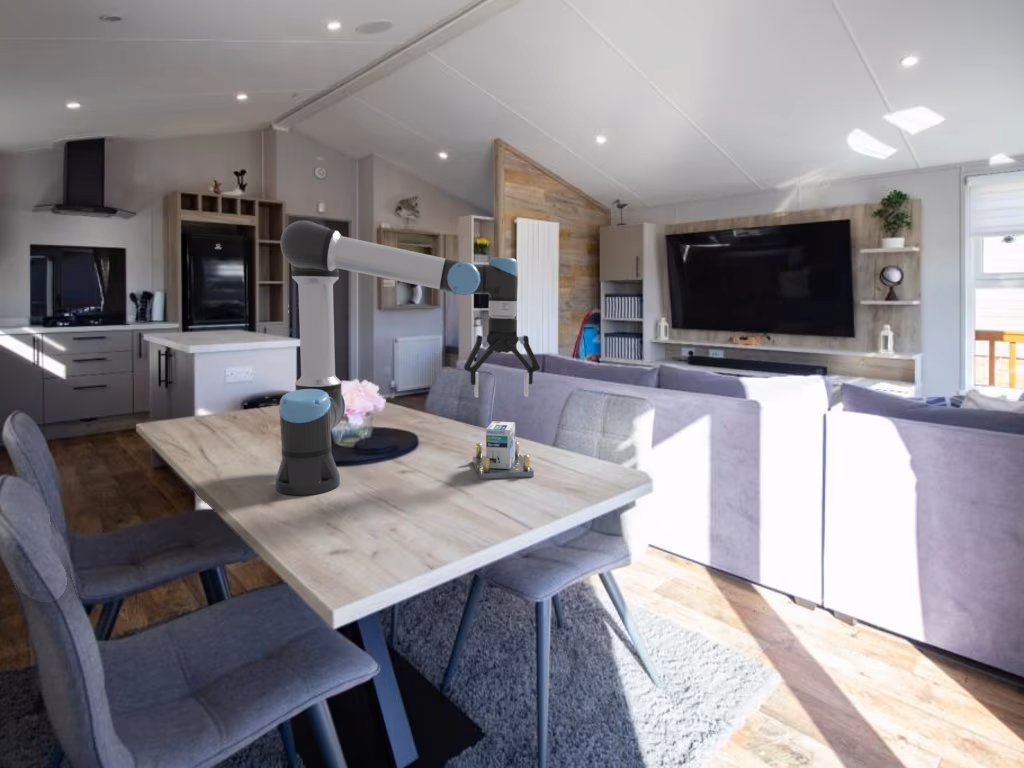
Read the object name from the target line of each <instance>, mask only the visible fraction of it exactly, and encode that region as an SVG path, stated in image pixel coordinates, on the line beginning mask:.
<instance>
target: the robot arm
mask: <svg viewBox="0 0 1024 768" xmlns="http://www.w3.org/2000/svg"><path fill="white" fill-rule="evenodd" d="M279 243H280V245H279V247H280V251H281V253H282V255H283V257H284V259H285V260H286V261H287V262H288V263H289V264H290V266H291V278H292V279H293V280H294V281H295V282H296V283H297V285H298V290H297V291H298V311H299V312H298V313H299V314H298V315H299V317H298V318H299V345H300V346H299V347H300V370H301V371H300V373H301V374H300V377H299V378H298V379H297V381H295V390H294V391H289V392H287V393H285V394H283V395H282V397H281V398H280V401H279V407H278V413H279V421H280V439H281V441H280V442H281V460H280V464H279V468H278V470H277V471H278V472H277V474H276V477H275V490H276V491H277V492H278V493H281V494H284V495H292V496H293V495H294V496H305V495H306V496H308V495H317V494H321V493H326V492H329V491H331V490H334V489H336V488H338V487H339V486H340V484H341V481H340V480H341V479H340V477H341V476H340V472H339V470H338V467H337V464H336V462H335V460H334V457H333V453H332V430H333V429H334V428H335V427H337V426H338V425H339V423H340V422H342V419H343V418H344V414H345V411H346V401H345V398H344V396H343V394H342V381H341V380H340V379H339V378H338V377H337V376H336V359H335V358H336V357H335V321H334V319H335V316H334V315H335V314H334V284H335V283H336V282H337V281H339V279H340V278H339V276H340V275H339V269H340V270H345V271H349V272H354V273H358V274H359V273H360V274H364V275H369V276H373V277H378V278H384V279H388V280H393V281H397V282H403V283H407V284H412V285H416V286H417V285H418V286H422V287H427V288H431V289H436V290H441V291H443V292H444V293H445V294H452V295H460V296H461V295H462V296H468V295H469V296H470V295H488V316H489V318H488V321H487V322H488V324H487V325H488V326H487V327H488V329H487V330H488V332H487V336H485V335H484V336H482V335H481V334H477V335H476V337H475V343H474V346H473V348H472V350H471V351H470V353H469V355H468V357H467V360H466V361H465V364H464V365H463V369H464V370H465V371H467V372H469V373H470V374H469V375H470V378H469V379H470V385H471V386H473V385H474V389H473V391H474V393H473V394H474V395H473V397H474V398H479V382H480V381H479V379H480V377H479V372H478V370H479V369H480V368H481V367H482V365H483V364H485V361H486V360H487V359H488V358H489V357H490V356H491V355H492V354H493V353H494V352H495V353H499V354H500V353H507V354H509V353H510V352H511V353H512V354H513V355H514V356H515V357H516V359H517V360H518V361H519V362H520V363H521V364H522V366H523V367H524V369H526V371H524V372H523V374H524V375H523V396H524V397H525V398H529V394H530V393H529V392H530V391H529V388H530V385H532V384H533V379H534V378H533V375H534V374H533V373H534V372H535V371H539V370H540V365H539V362H538V360H537V358H536V356H535V354H534V352H533V349H532V348H531V346H530V342H529V341H530V340H529V336H528V335H525V334H524V335H522V336H518V334H517V331H518V330H517V329H518V328H517V327H518V320H517V318H516V317H517V316H518V290H519V289H518V284H519V275H518V267H519V265H518V261H517V260H516V259H515V258H513V257H491V258H489V261H488V264H485V265H481V264H479V265H478V264H473V263H470V262H467V261H458V260H453V259H448V258H445V257H440V256H435V255H431V254H427V253H426V254H425V253H421V252H417V251H412V250H409V249H403V248H398V247H394V246H389V245H385V244H384V245H383V244H380V243H375V242H370V241H365V240H363V239H362V240H361V239H356V238H352V237H347V236H343V235H341V233H340V232H339V231H338V230H335V229H330V228H329V227H327V226H325V225H323V224H319V223H315V222H313V221H309V220H297V221H295V222H292V223H291V224H288V226H287V227H285V229H284V230H283V232H282V234H281V236H280V240H279ZM485 342H487V344H488V345H489V346H488V347H487V348H486V349H485V351H484V352H483V353H482V354H481V356H479V358H478V359H477V361H475V363H474V364H473V362H474V360H475V358H476V356H477V355H478V352H479V351H480V348H481V346H482V345H484V343H485ZM518 342H519V343H520V344H521V345H522V346H523V349H524V350H525V353H526V355H527V357H528V359H529V361H530V363H531V365H532V366H531V365H530V363H529V362H528V361H527V360H526V359H525V357H523V355H522V354H521V353H520V352H519V350H518V349H517V347H516V345H517V344H518ZM472 364H473V365H472Z"/></svg>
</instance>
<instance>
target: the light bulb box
mask: <svg viewBox="0 0 1024 768" xmlns="http://www.w3.org/2000/svg"><path fill="white" fill-rule="evenodd" d="M485 436H486V437H485V456H486V457H490V468H499V469H510V468H511V466H512V464H513V462H514V460H515V442H516V422H515V421H495V420H494V421H491V422H490V424H489V425H488V426H487V427H486V429H485Z"/></svg>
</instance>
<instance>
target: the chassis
mask: <svg viewBox="0 0 1024 768" xmlns="http://www.w3.org/2000/svg"><path fill="white" fill-rule="evenodd" d="M519 445H520V443H519V441H515V460H514V462H513V464H512V466H511V468H510V469H499V468H490V457H486V455H483V443H482V442H477V443H476V445H475V447H476V448H475V450H476V453H475V454H476V455H475V456H472V464H473V466H474V468H475V471H476V472H477V474H478V476H479V479H480V480H494V479H495V480H497V479H516V478H517V479H518V478H534V470H533V468H532V466H531V465H530V458H531V457H530V454H523V456H522V455H521V454H519V452H520V451H519V450H520V448H519V447H520V446H519Z"/></svg>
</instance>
